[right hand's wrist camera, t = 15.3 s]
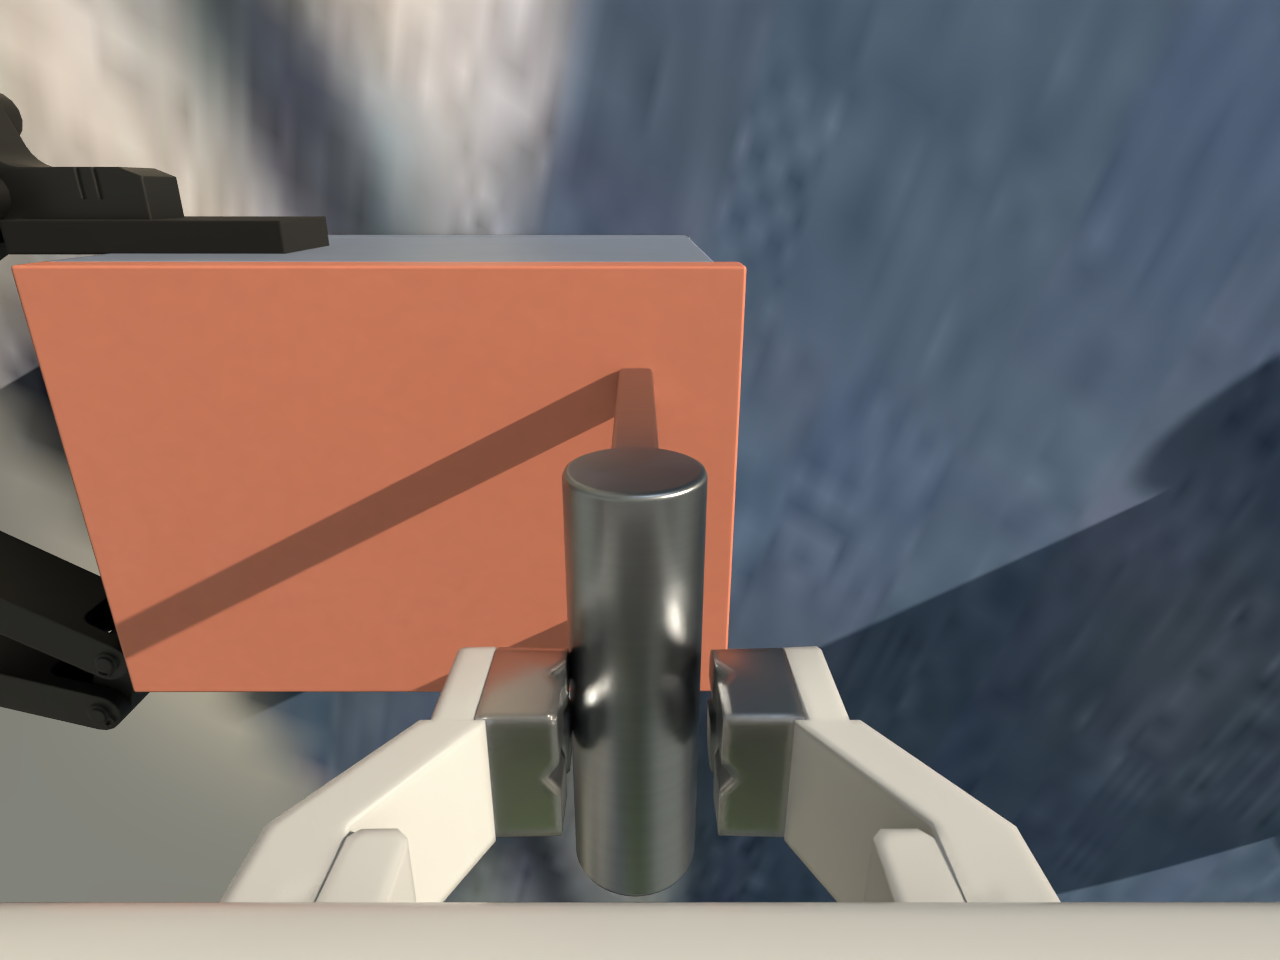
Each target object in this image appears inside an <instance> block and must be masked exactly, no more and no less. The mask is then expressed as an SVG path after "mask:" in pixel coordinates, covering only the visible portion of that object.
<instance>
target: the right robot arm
mask: <svg viewBox="0 0 1280 960" xmlns="http://www.w3.org/2000/svg"><path fill="white" fill-rule="evenodd" d="M570 680H571V673H570V652H569V648H524V647H499V648H497V647H463V648H461V649H460V650H459V651H458V652H457V654H456V657H455V659H454V662H453V664H452V667H451V669H450V672H449V674H448V677H447V679H446V682H445V684H444V687H443V689H442V692H441V694H440V697H439V699H438V702H437V704H436V707H435V709H434V712H433V714H432V717H431V719H430V720H419V721H418V722H416V723H415V724H413V725H412V726H410V727H409V728H407V729H406V730H405V731H403V732H402V733H400V734H399V735H397V736H396V737H394V738H393V739H391V740H390V741H388V742H387V743H385V744H384V745H382V746H381V747H380V748H378V749H377V750H375V751H374V752H372V753H371V754H369V755H368V756H366V757H365V758H363V759H362V760H360V761H359V762H357V763H356V764H355V765H353V766H352V767H350V768H349V769H347V770H346V771H344V772H343V773H341V774H340V775H338V776H337V777H335V778H334V779H332V780H331V781H330V782H328V783H327V784H325V785H324V786H322V787H321V788H319V789H318V790H316V791H315V792H313V793H312V794H310V795H309V796H307V797H306V798H305V799H303V800H302V801H300V802H299V803H297V804H296V805H294V806H293V807H291V808H290V809H288V810H287V811H285V812H284V813H282V814H281V815H280V816H278V817H277V818H275V819H274V820H272V821H271V822H269V823H268V824H266V825H265V826H264V828H263V830H262V831H261V833H260V835H259V836H258V838H257V840H256V841H255V843H254V845H253V846H252V848H251V850H250V851H249V853H248V855H247V856H246V858H245V860H244V861H243V863H242V865H241V867H240V868H239V870H238V872H237V873H236V875H235V877H234V878H233V880H232V882H231V883H230V885H229V887H228V888H227V890H226V892H225V893H224V895H223V897H222V898H221V900H220V902H0V960H1280V902H1060V900H1059V899H1058V897H1057V895H1056V894H1055V892H1054V890H1053V888H1052V887H1051V885H1050V883H1049V882H1048V880H1047V878H1046V877H1045V875H1044V873H1043V871H1042V870H1041V868H1040V866H1039V865H1038V863H1037V861H1036V860H1035V858H1034V856H1033V854H1032V853H1031V851H1030V849H1029V848H1028V846H1027V844H1026V843H1025V841H1024V839H1023V837H1022V836H1021V834H1020V832H1019V831H1018V829H1017V827H1016V826H1015V825H1013V824H1012V823H1010V822H1009V821H1007V820H1006V819H1004V818H1003V817H1001V816H1000V815H998V814H997V813H995V812H994V811H993V810H991V809H990V808H988V807H987V806H985V805H984V804H982V803H981V802H979V801H978V800H976V799H975V798H974V797H972V796H971V795H969V794H968V793H966V792H965V791H963V790H962V789H960V788H959V787H957V786H956V785H954V784H953V783H952V782H950V781H949V780H947V779H946V778H944V777H943V776H941V775H940V774H938V773H937V772H935V771H934V770H933V769H931V768H930V767H928V766H927V765H925V764H924V763H922V762H921V761H919V760H918V759H916V758H915V757H913V756H912V755H911V754H909V753H908V752H906V751H905V750H903V749H902V748H900V747H899V746H897V745H896V744H894V743H893V742H892V741H890V740H889V739H887V738H886V737H884V736H883V735H881V734H880V733H878V732H877V731H875V730H874V729H872V728H871V727H870V726H868V725H867V724H865V723H864V722H862V721H861V720H849V717H848V715H847V712H846V710H845V707H844V705H843V702H842V700H841V697H840V695H839V692H838V690H837V687H836V685H835V683H834V680H833V678H832V675H831V673H830V670H829V668H828V665H827V663H826V660H825V658H824V655H823V653H822V650H821V649H820V648H818V647H817V646H811V647H783V648H758V649H711V651H710V660H709V681H710V688H711V696H712V697H711V698H710V700H709V701H708V713H707V742H708V755H709V765H710V771H711V772H712V773H713V774H714V787H713V798H714V806H715V813H716V821H717V829H718V835H725V836H761V837H784V841H785V842H786V843H787V844H788V845H789V847H790V848H791V849H792V850H793V851H794V852H795V854H796V855H797V856H798V857H799V858H800V859H801V861H802V862H803V863H804V864H805V865H806V866H807V868H808V869H809V870H810V871H811V872H812V873H813V875H814V876H815V877H816V878H817V879H818V880H819V881H820V883H821V884H822V885H823V886H824V887H825V888H826V890H827V891H828V892H829V893H830V894H831V895H832V897H833V898H834V899H835V900H836V901H837V902H444V900H445V899H446V898H447V897H448V896H449V895H450V893H451V892H452V891H453V890H454V889H455V888H456V887H457V885H458V884H459V883H460V882H461V881H462V880H463V878H464V877H465V876H466V875H467V874H468V873H469V871H470V870H471V869H472V868H473V867H474V866H475V865H476V863H477V862H478V861H479V860H480V859H481V858H482V856H483V855H484V854H485V853H486V852H487V851H488V849H489V848H490V847H491V846H492V845H493V844H494V843H495V841H496V837H518V836H553V835H562V829H563V821H564V813H565V806H566V798H567V788H566V774H567V773H568V772H569V771H570V764H571V754H572V736H573V725H572V704H571V700H570V698H569V697H568V696H569V688H570Z"/></svg>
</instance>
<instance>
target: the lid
mask: <svg viewBox="0 0 1280 960" xmlns="http://www.w3.org/2000/svg"><path fill="white" fill-rule="evenodd" d="M11 269H12V273H13V276H14V280H15V283H16V287H17V290H18V293H19V297H20V300H21V304H22V307H23V311H24V314H25V318H26V321H27V324H28V328H29V331H30V335H31V338H32V342H33V345H34V348H35V352H36V355H37V359H38V362H39V366H40V369H41V373H42V376H43V379H44V383H45V386H46V390H47V393H48V397H49V400H50V404H51V407H52V410H53V414H54V417H55V421H56V424H57V428H58V431H59V434H60V438H61V441H62V445H63V448H64V452H65V455H66V459H67V462H68V465H69V469H70V472H71V476H72V479H73V483H74V486H75V490H76V493H77V496H78V500H79V503H80V507H81V510H82V514H83V517H84V520H85V524H86V527H87V531H88V534H89V538H90V541H91V545H92V548H93V551H94V555H95V558H96V562H97V565H98V569H99V572H100V576H101V579H102V582H103V586H104V589H105V593H106V596H107V600H108V603H109V606H110V610H111V613H112V617H113V620H114V624H115V627H116V631H117V634H118V637H119V641H120V644H121V648H122V651H123V655H124V658H125V662H126V665H127V668H128V672H129V675H130V679H131V682H132V686H133V689H134V691H135V692H433V691H442V689H443V687H444V684H445V682H446V679H447V677H448V674H449V672H450V669H451V667H452V664H453V662H454V659H455V657H456V654H457V652H458V651H459V650H460V649H461V648H463V647H497V648H499V647H524V648H569V652H570V673H571V680H570V688H569V691H570V700H571V704H572V725H573V736H572V751H573V776H574V802H575V827H576V850H577V856H578V859H579V862H580V864H581V866H582V868H583V870H584V871H585V872H586V874H587V875H588V876H589V877H590V878H591V880H592V881H594V882H595V883H596V884H597V885H599V886H600V887H602V888H604V889H606V890H608V891H610V892H613V893H616V894H620V895H626V896H645V895H650V894H654V893H657V892H660V891H662V890H665V889H667V888H668V887H670V886H672V885H673V884H674V883H676V882H677V881H678V880H679V879H680V878H681V877H682V876H683V875H684V873H685V872H686V870H687V869H688V867H689V865H690V863H691V861H692V858H693V855H694V847H695V819H696V791H697V763H698V735H699V706H700V691H711V688H710V681H709V660H710V651H711V649H727V645H728V625H729V605H730V585H731V565H732V545H733V525H734V505H735V485H736V465H737V445H738V425H739V405H740V386H741V366H742V346H743V326H744V306H745V286H746V267H745V266H744V265H742V264H741V263H739V262H37V263H29V264H21V265H14V266H12V268H11Z"/></svg>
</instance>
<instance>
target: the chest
mask: <svg viewBox="0 0 1280 960" xmlns="http://www.w3.org/2000/svg"><path fill="white" fill-rule="evenodd" d="M328 239H329V246H325V247H319V248H314V249H308V250H303V251H298V252H292V253H287V254H103V255H95V256H87V257H79V258H71V259H63V260H54V261H51V262H713V261H712V260H711V259H710V258H709V257H708V256H707V255H706V254H705V253H704V252H703V251H702V250H701V249H700V248H699V247H698V246H696V245H695V244H694V243H693V242H692V241H691V240H690V237H689V236H688V235H328Z"/></svg>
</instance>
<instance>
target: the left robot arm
mask: <svg viewBox="0 0 1280 960" xmlns="http://www.w3.org/2000/svg"><path fill="white" fill-rule="evenodd" d="M21 132H22V118H21V115H20V112H19V110H18V108H17V107H16V106H15V104H14V103H13V102H12V101H11V100H10V99H9V98H7V97H6V96H5V95H3V94H1V93H0V260H1V259H3V258H4V257H5V256H7V255H8V254H287V253H292V252H298V251H303V250H308V249H314V248H319V247H325V246H329V239H328V232H327V225H326V217H184V214H183V209H182V204H181V199H180V194H179V189H178V185H177V180H176V177H174V176H172V175H169V174H167V173H164V172H162V171H159V170H157V169H152V168H128V167H51V166H49V165H46V164H44V163H43V162H41V161H40V160H38V159H37V158H36V157H35V156H34V155H33V154H32V153H31V152H30V151H29V149H28V148H27V147H26V145H25V144H24V142H23V140H22V139H21V137H20V134H21ZM111 630H112V631H111ZM108 631H111V632H110V633H109V632H108ZM148 693H149V692H135V691H134V689H133V686H132V682H131V679H130V675H129V672H128V668H127V665H126V662H125V658H124V655H123V651H122V648H121V644H120V641H119V637H118V634H117V631H116V627H115V624H114V620H113V617H112V613H111V610H110V606H109V603H108V600H107V596H106V593H105V589H104V586H103V582H102V579H101V577H100V576H98V575H96V574H94V573H92V572H89V571H87V570H85V569H83V568H81V567H78V566H76V565H74V564H72V563H70V562H68V561H65V560H63V559H61V558H59V557H57V556H54V555H52V554H50V553H48V552H46V551H43V550H41V549H39V548H37V547H35V546H32V545H30V544H28V543H26V542H24V541H21V540H19V539H17V538H15V537H13V536H10V535H8V534H6V533H4V532H2V531H0V706H1V707H4V708H9V709H13V710H17V711H22V712H26V713H31V714H35V715H39V716H44V717H48V718H52V719H57V720H61V721H65V722H70V723H74V724H78V725H83V726H87V727H91V728H96V729H102V730H108V729H112V728H114V727H116V726H117V725H118V724H119V723H120V722H121V721H122V720H123V719H124V718H125V717H126V716H127V715H128V714H129V713H130V712H131V711H132V710H133V709H134V708H135V707H136V706H137V705H138V704H139V703H140V702H141V700H142V699H143V698H144V697H145V696H146V695H147V694H148Z"/></svg>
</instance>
